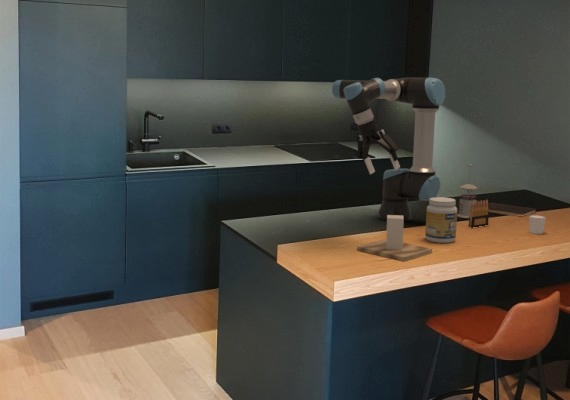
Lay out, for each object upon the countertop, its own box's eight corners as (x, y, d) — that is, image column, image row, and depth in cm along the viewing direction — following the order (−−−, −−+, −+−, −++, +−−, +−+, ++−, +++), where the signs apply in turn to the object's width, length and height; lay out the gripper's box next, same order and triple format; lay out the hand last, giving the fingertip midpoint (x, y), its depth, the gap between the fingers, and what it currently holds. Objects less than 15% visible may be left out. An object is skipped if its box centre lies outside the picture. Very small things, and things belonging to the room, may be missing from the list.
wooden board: (356, 250, 273) (356, 246, 273) (385, 242, 286) (385, 238, 285) (404, 261, 258) (404, 257, 258) (431, 252, 270) (432, 248, 270)
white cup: (536, 235, 301) (537, 218, 300) (524, 231, 307) (525, 215, 306) (548, 233, 304) (549, 217, 303) (535, 230, 310) (537, 214, 309)
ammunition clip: (471, 228, 312) (473, 201, 310) (468, 227, 314) (469, 200, 312) (488, 225, 318) (490, 199, 316) (485, 225, 320) (486, 198, 317)
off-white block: (386, 249, 269) (387, 218, 267) (386, 245, 275) (387, 214, 273) (402, 249, 268) (403, 218, 266) (401, 246, 274) (403, 215, 272)
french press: (455, 216, 336) (457, 164, 332) (458, 212, 347) (461, 161, 342) (476, 218, 333) (479, 165, 328) (479, 214, 343) (482, 162, 339)
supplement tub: (449, 245, 282) (452, 203, 279) (420, 241, 289) (422, 200, 286) (459, 239, 293) (462, 198, 290) (431, 235, 299) (433, 195, 296)
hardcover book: (522, 218, 338) (522, 213, 337) (477, 211, 353) (477, 206, 352) (535, 213, 349) (536, 208, 349) (492, 206, 364) (492, 202, 364)
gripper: (337, 130, 287) (357, 178, 291) (382, 118, 268) (402, 170, 272) (349, 123, 292) (368, 171, 296) (394, 112, 272) (414, 162, 276)
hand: (384, 170), depth 284 cm, fingers open, 13 cm apart
